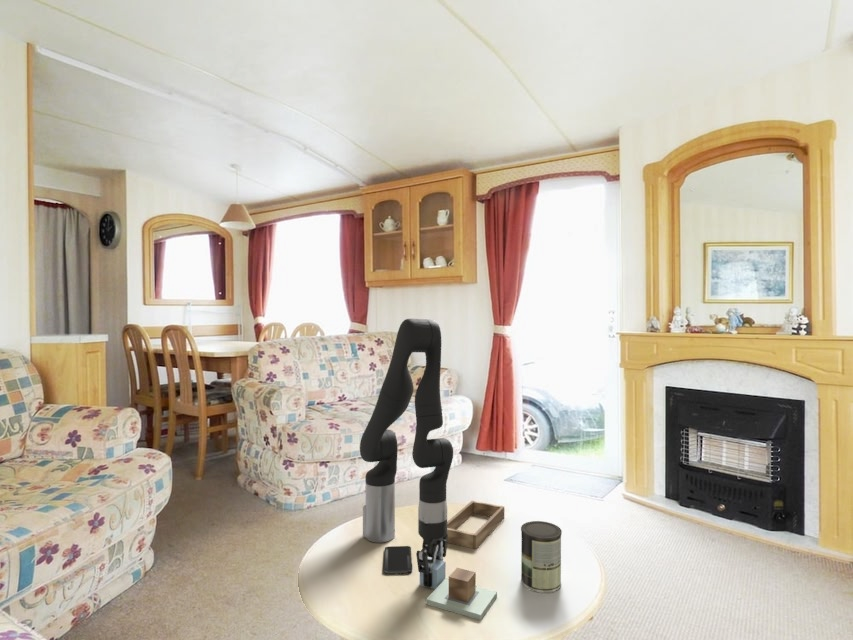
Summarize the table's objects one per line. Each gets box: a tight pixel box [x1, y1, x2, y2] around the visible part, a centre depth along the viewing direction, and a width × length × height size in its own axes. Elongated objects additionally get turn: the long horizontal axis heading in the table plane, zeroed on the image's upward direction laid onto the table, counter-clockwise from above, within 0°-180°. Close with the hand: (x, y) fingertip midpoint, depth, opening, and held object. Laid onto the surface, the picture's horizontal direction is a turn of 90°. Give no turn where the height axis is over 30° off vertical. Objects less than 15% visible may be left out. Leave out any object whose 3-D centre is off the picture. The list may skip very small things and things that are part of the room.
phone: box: [382, 545, 413, 576], centre depth 143 cm, size 8×1×15 cm
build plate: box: [425, 577, 498, 621], centre depth 123 cm, size 14×11×1 cm
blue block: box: [419, 557, 447, 590], centre depth 131 cm, size 5×5×5 cm
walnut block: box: [448, 567, 477, 603], centre depth 123 cm, size 5×5×5 cm
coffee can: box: [520, 520, 563, 594], centre depth 131 cm, size 10×10×14 cm
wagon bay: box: [447, 500, 505, 550], centre depth 165 cm, size 12×26×4 cm, turn 153°
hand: (432, 580), depth 131 cm, fingers closed on blue block, 5 cm apart
